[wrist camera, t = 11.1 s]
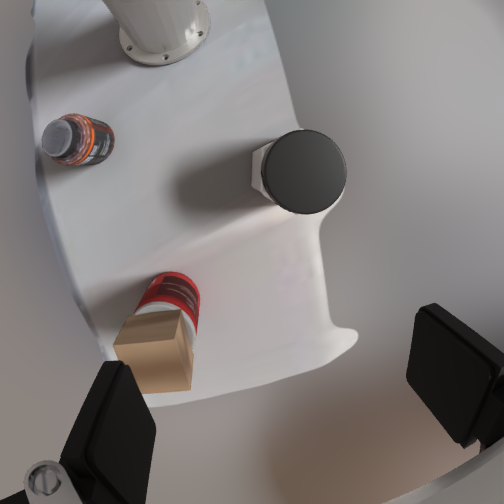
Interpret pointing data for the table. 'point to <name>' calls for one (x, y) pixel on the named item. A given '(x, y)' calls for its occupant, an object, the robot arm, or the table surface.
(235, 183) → the table surface
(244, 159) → the table surface
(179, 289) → the canned food
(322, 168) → the jar
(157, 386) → the walnut cube
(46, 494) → the robot arm
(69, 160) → the supplement bottle
